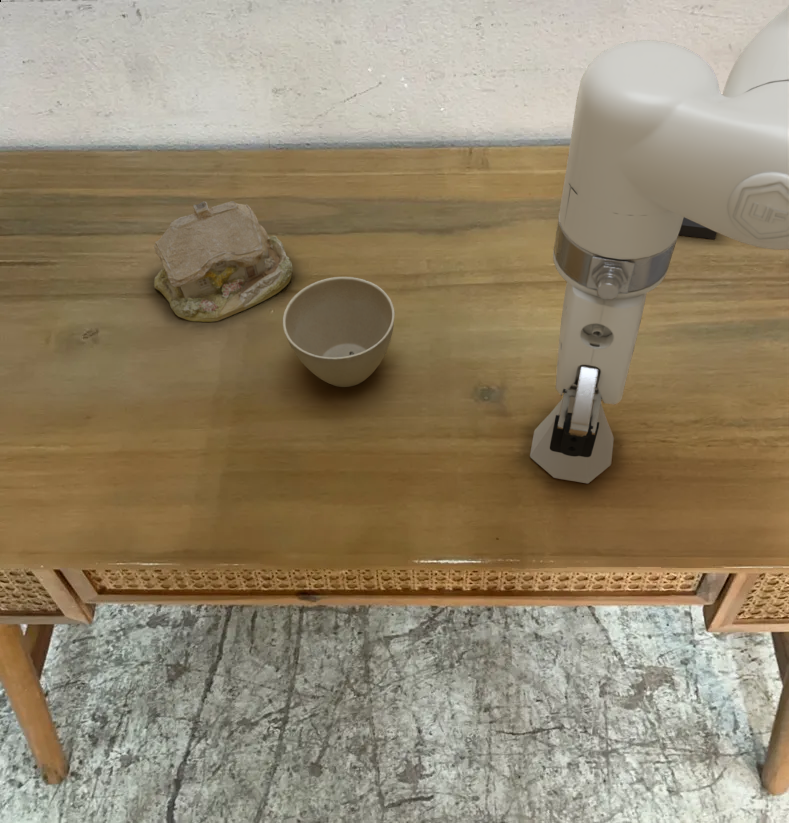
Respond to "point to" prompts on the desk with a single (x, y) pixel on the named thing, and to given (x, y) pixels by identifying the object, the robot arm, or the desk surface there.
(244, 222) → the ceramic model
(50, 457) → the desk surface
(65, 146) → the desk surface
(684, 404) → the desk surface
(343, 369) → the bowl
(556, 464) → the flask
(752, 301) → the desk surface
